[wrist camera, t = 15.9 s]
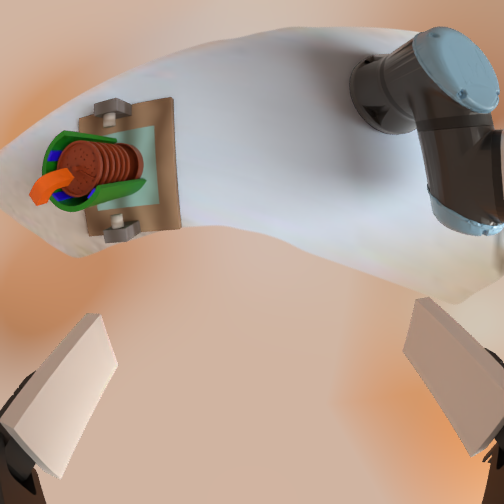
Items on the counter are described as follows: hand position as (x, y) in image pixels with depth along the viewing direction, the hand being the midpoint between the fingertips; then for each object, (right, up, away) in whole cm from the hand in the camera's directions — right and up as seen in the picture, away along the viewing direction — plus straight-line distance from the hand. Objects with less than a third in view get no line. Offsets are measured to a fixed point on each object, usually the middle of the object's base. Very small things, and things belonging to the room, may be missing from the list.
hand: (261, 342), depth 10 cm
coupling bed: (-22, +18, +33) cm, 43 cm away
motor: (-22, +17, +31) cm, 42 cm away
